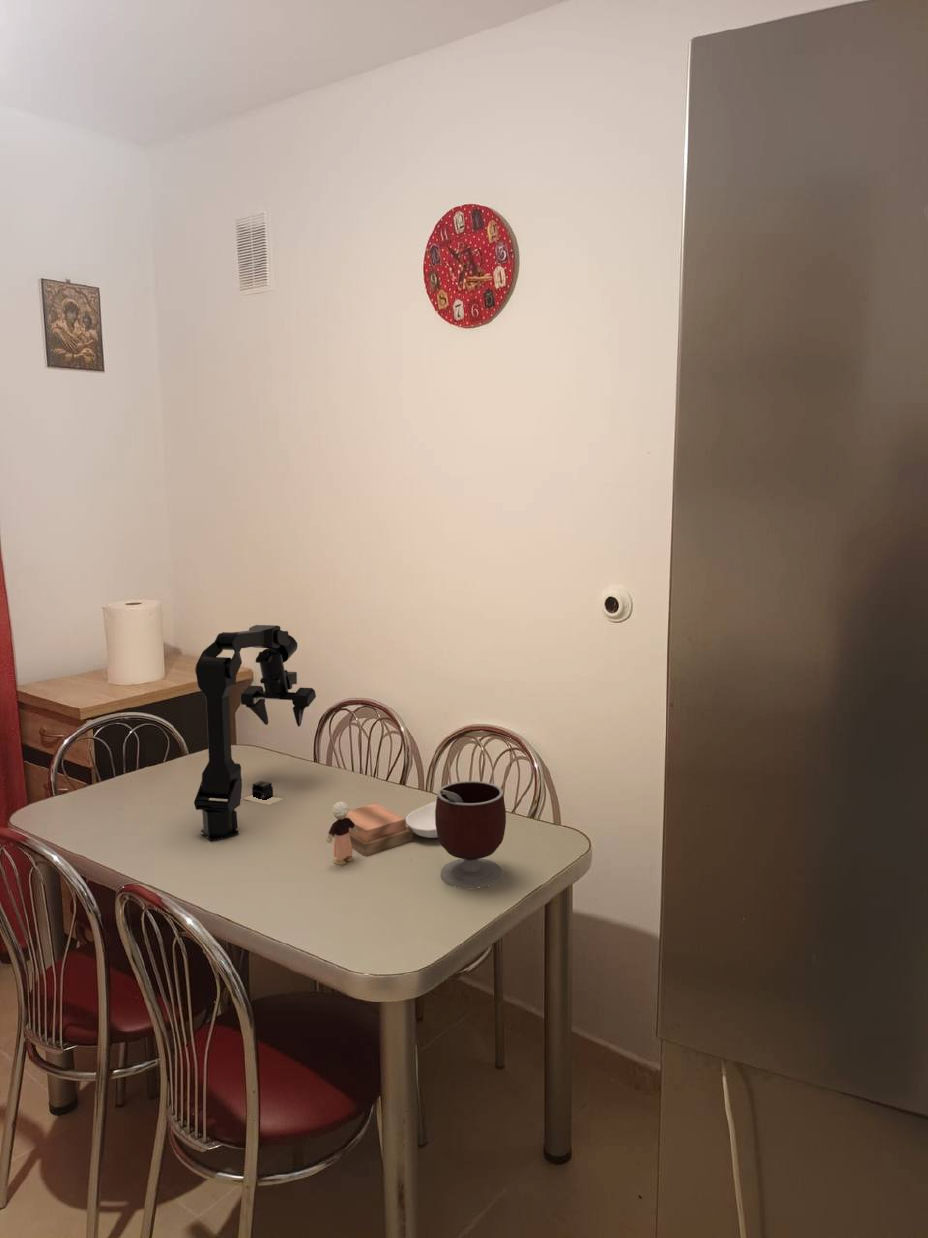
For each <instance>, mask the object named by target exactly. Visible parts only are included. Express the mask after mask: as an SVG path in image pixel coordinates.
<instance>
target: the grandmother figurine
mask: <svg viewBox="0 0 928 1238" xmlns="http://www.w3.org/2000/svg"><path fill="white" fill-rule="evenodd" d="M348 811H350V809H349V807H348V805H347V803H345V802H343V801H338V802H336V803H335V804H334V805H333V806H332V813H333V816H334V817H335V819H336V821H335V822H333V823H332V824H331V826H330V828H329V830H328V835H327V838H326V842H327V843H328V844H329V843H330V844H331V843H332V841H333V838H334V843H333V844H334V845H333V857H334V860H333V864H335V865H340V866H344V865H346V864H347V862H352V861H354V857H353V848H352V845H351V840H350V835H349V828H351V830H353V833H357V832H358V830H357V829H356V826H355V824H354V823H353V822H352V821H351V820H350V819H349V818H345V817H346V815H347V813H348ZM334 835H335V837H334Z"/></svg>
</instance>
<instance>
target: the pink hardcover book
mask: <svg viewBox="0 0 928 1238" xmlns="http://www.w3.org/2000/svg"><path fill="white" fill-rule="evenodd" d="M345 818H349V819H350V820H351V821H352V822H353V823H354V824H355V826H356V829H357V830H358V832H357V833H353V830H351V828H349V835H350V840H351V845H352V850H355V851H357V852H358V853H359V854H361V855H363V856H364V857H367V856H370V855H373V854H374V855H375V854H376V853H379V852H382V851H386V850H388V849H389V850H390V849H392V848H395V847H398V846H400V845H405V844H407V843H411V842H413V841H414V840H413V831H412V830H411V829H410V828H409V827H408V826H407V825H406V817H404V816H401V815H399V814H398V813H396V812H393V811H392V810H389V809H388V808H386V807H384V806H382V805H380V804H378V803H376V802H375V803H372V804H369V805H365V806H362V807H358V808H354V809H351V810H350V809H349V810H348V813H347V815H346V817H345ZM333 838H335V835H334V836H333Z"/></svg>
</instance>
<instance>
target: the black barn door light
mask: <svg viewBox="0 0 928 1238" xmlns="http://www.w3.org/2000/svg"><path fill="white" fill-rule="evenodd" d="M272 785H273V784H272V782H270V781H269V782H268V781H264V780H259V781H257V782H255V783H252V788H251V790H252V791H251V793H252V795H253V797H256V798H258V799H262V800H267V799H269V798H271V797H273V796H274V789H273V788H274V787H273V786H272Z"/></svg>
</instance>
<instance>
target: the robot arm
mask: <svg viewBox="0 0 928 1238" xmlns="http://www.w3.org/2000/svg"><path fill="white" fill-rule="evenodd" d="M249 648H255V649H263V650H262V651H259V652H258V655H257V656H256V658H255V663H256V664H259V667H260V672H261V676H262V677H261V678H260V680H259V681H260V684H263V686H262V685H248V686H247V687H246V688H245V689H244V690H243V692H241V693H240V695H239V701H240V704H241V705H242V706H243V705H245V707H246V708H247V709H248V708H249V709H250V710H251V711H252V712H253V713H254V714H255V715H256V716H257V717H258V718H259V720H261V721H262V723H263V724H264V725H265V726H268V724H269V718H268V717H269V716H268V712H267V707H266V700H276V701H277V700H278V701H279V700H282V701H283V700H284V701H285V700H286V701H292V703H291V704H292V705H293V707H292V710H293V711H292V712H293V714H294V718H295V722H296V726H297V727H298V728H300V727H301V725H302V722H303V716H304V713H305V712H304V711H305V709H307V708H308V707H309V706H310V705H311V704H312V703H313V701H314V700H315V699H316V697H317V696H316V695H317V694H316V690H315V689H314V688H313V687H299V688H298V689H297V690H296V691H295V692H293V691H292V692H290V691H289V690H292V688H293V686H294V685H298V674H297V673H298V672H297V671H288V669H285V666H284V665H285V664H284V663H286V662H287V661H288V660H289V659H290V658H291V657H292V655H294V653H296V651H297V649H298V642H297V641H296V639H295V638H294V637H293V636H292V635H290V634H289V631H288V630H281V626H280V625H273V624H272V625H271V624H268V625H267V624H266V625H265V624H255V625H253V626H250V627H249V629H248V630H242V631H234V632H227V631H225V632H224V631H223V632H220V633H218V634H217V635H216V638H215V640H214V641H213V642H212V643H211V644H210V645H208V646H207V647H206V648H205V649H204V650H202V653H201V654H200V657H199V658H198V660H197V663H196V665H195V668H194V669H195V675H196V682H197V686H198V688H199V690H200V691H201V693H202V694H203V696H204V697H205V702H206V704H205V706H206V723H207V724H206V725H207V726H206V727H207V745H208V747H207V748H208V762H207V763H206V766H205V767H204V770H203V771H202V773H201V781H200V785H199V788H198V790H197V793H196V796H195V799H194V802H193V805H194V808H195V810H197V811H199V810H200V811H201V812H202V813H201V814H202V824H203V826H202V828H203V829H202V830H200V833H201V832H202V833H203V834H204V835H205V836H206V837H208V838H209V839H210V840H211V841H210V840H209V839H208V838H207V839H208V840H209V841H210V842H215V841H218V839H219V840H222V839H221V838H223V839H226V838H230V837H233V836H232V835H234V836H237V835H239V834H240V832H239V830H238V825H239V824H238V812H237V811H236V809H237V808H238V807H239V806H241V801H242V800H241V799H242V792H243V778H242V766H241V763H238V762H237V763H236V762H235V761H234V760H233V757H232V756H233V755H232V739H231V738H232V737H231V736H232V735H231V733H232V732H231V731H232V730H231V713H230V710H231V709H230V695H231V692H232V691H233V690H234V688H235V686H236V683H237V675H238V673H239V670H240V668H241V667H242V666H241V665H242V664H243V661H242V656H241V650H242V649H249ZM223 651H233V652H234V653H233V655H232V657H227V656H226V657H224V656H223V657H222V656H221V657H220V656H219V655H220V654H222V653H223ZM218 656H219V657H218ZM211 799H212V800H211ZM214 799H216V800H214ZM218 799H219V800H218ZM226 800H227V801H226ZM202 833H201V834H202ZM238 833H239V834H238ZM203 834H202V835H203ZM236 834H237V835H236ZM204 835H203V836H204ZM205 836H204V837H205ZM229 836H230V837H229ZM206 837H205V838H206ZM225 837H226V838H225ZM214 840H215V841H214Z"/></svg>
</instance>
